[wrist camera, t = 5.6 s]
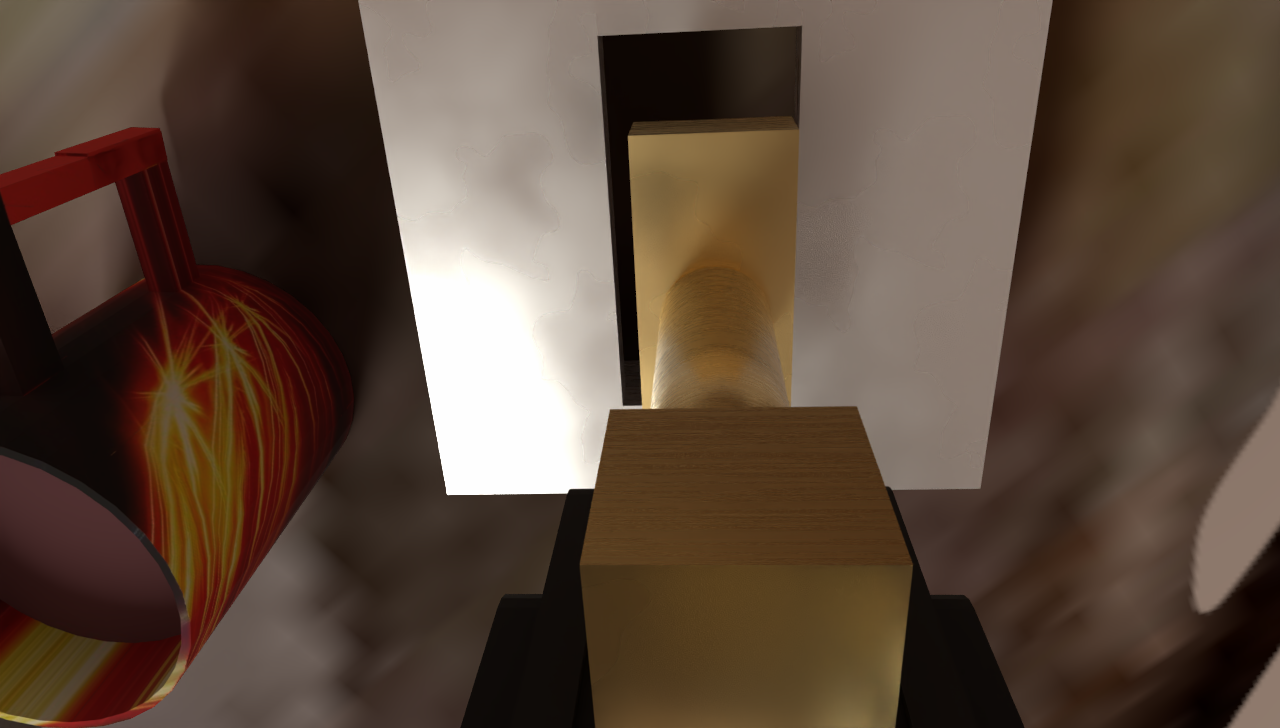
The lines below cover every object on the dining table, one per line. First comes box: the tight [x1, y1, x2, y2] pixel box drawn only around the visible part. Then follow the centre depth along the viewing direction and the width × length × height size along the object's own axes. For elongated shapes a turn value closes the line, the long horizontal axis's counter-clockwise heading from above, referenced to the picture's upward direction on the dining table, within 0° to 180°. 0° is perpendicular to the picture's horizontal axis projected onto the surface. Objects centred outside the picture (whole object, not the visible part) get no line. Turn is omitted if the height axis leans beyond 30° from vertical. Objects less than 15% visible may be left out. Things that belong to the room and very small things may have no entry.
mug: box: [0, 127, 354, 728], centre depth 27 cm, size 10×14×12 cm
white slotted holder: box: [358, 0, 1053, 495], centre depth 25 cm, size 16×16×7 cm
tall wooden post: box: [580, 116, 913, 728], centre depth 14 cm, size 3×8×14 cm, turn 3°
